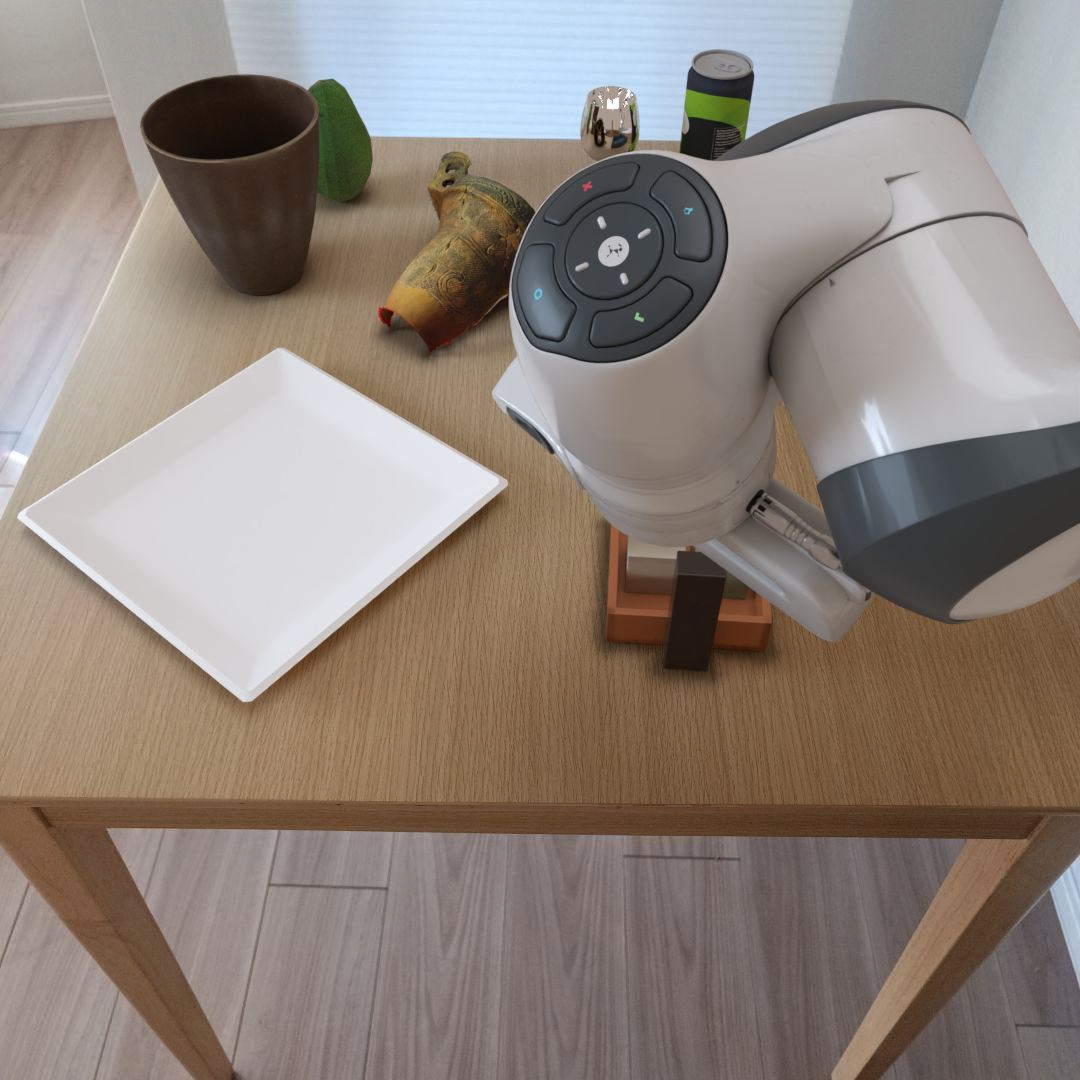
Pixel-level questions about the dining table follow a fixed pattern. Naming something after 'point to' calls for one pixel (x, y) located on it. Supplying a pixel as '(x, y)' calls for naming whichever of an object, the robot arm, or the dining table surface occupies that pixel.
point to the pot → (460, 255)
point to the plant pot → (241, 173)
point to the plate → (262, 516)
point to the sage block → (731, 585)
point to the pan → (684, 611)
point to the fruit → (340, 143)
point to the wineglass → (610, 122)
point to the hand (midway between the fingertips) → (702, 532)
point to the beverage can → (716, 103)
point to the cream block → (649, 567)
